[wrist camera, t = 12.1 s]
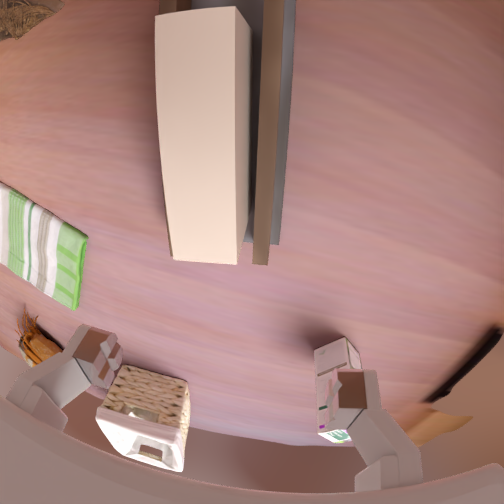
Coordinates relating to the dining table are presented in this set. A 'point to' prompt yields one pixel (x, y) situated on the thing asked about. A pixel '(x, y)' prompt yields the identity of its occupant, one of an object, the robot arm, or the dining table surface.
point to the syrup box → (325, 363)
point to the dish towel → (41, 247)
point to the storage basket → (147, 416)
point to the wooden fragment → (24, 15)
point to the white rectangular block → (205, 130)
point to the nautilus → (35, 345)
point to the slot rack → (262, 110)
